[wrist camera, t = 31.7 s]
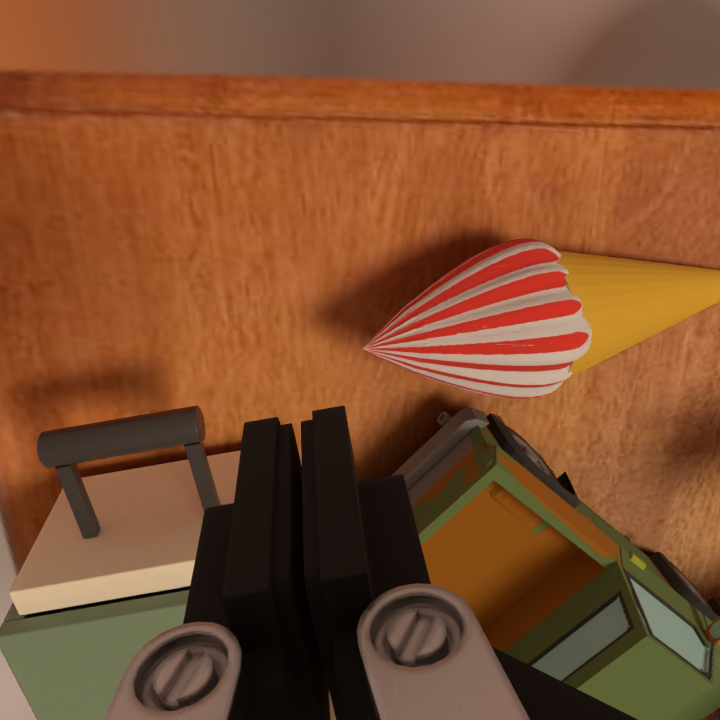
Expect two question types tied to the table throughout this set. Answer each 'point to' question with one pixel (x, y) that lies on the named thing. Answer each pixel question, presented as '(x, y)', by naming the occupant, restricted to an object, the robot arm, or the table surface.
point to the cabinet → (84, 652)
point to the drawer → (122, 513)
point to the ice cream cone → (537, 316)
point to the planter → (715, 715)
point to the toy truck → (559, 575)
